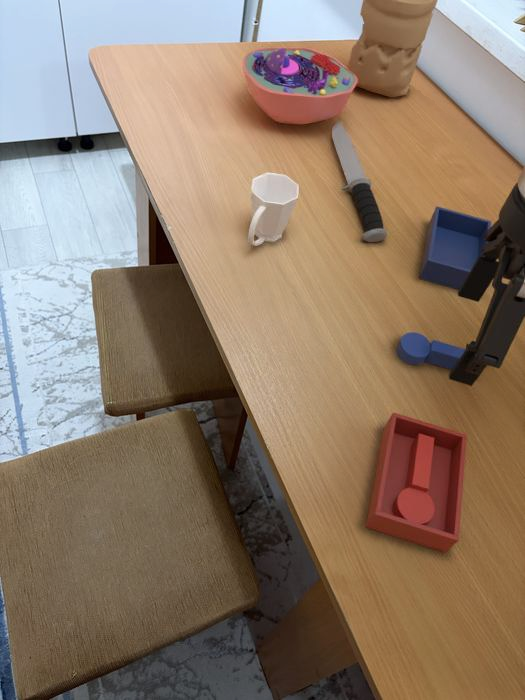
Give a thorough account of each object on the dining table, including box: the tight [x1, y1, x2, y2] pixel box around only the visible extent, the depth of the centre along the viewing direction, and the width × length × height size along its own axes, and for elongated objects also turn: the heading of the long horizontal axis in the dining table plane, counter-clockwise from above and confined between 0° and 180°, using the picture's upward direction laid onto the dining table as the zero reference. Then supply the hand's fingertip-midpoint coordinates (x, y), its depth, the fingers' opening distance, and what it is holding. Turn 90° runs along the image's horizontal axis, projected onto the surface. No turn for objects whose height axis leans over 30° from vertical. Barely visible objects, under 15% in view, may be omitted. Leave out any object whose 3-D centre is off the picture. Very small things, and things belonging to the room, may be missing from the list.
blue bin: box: [418, 206, 492, 291], centre depth 86 cm, size 12×8×4 cm
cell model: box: [242, 46, 358, 125], centre depth 102 cm, size 17×20×11 cm
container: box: [347, 0, 438, 98], centre depth 108 cm, size 13×13×18 cm
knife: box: [331, 119, 388, 243], centre depth 95 cm, size 29×3×5 cm
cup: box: [247, 171, 300, 247], centre depth 83 cm, size 7×10×8 cm
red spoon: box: [392, 433, 435, 525], centre depth 63 cm, size 10×4×3 cm, turn 164°
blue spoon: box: [396, 331, 466, 371], centre depth 75 cm, size 10×4×3 cm, turn 74°
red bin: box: [365, 412, 468, 553], centre depth 63 cm, size 12×8×4 cm
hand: (464, 336), depth 71 cm, fingers open, 13 cm apart
